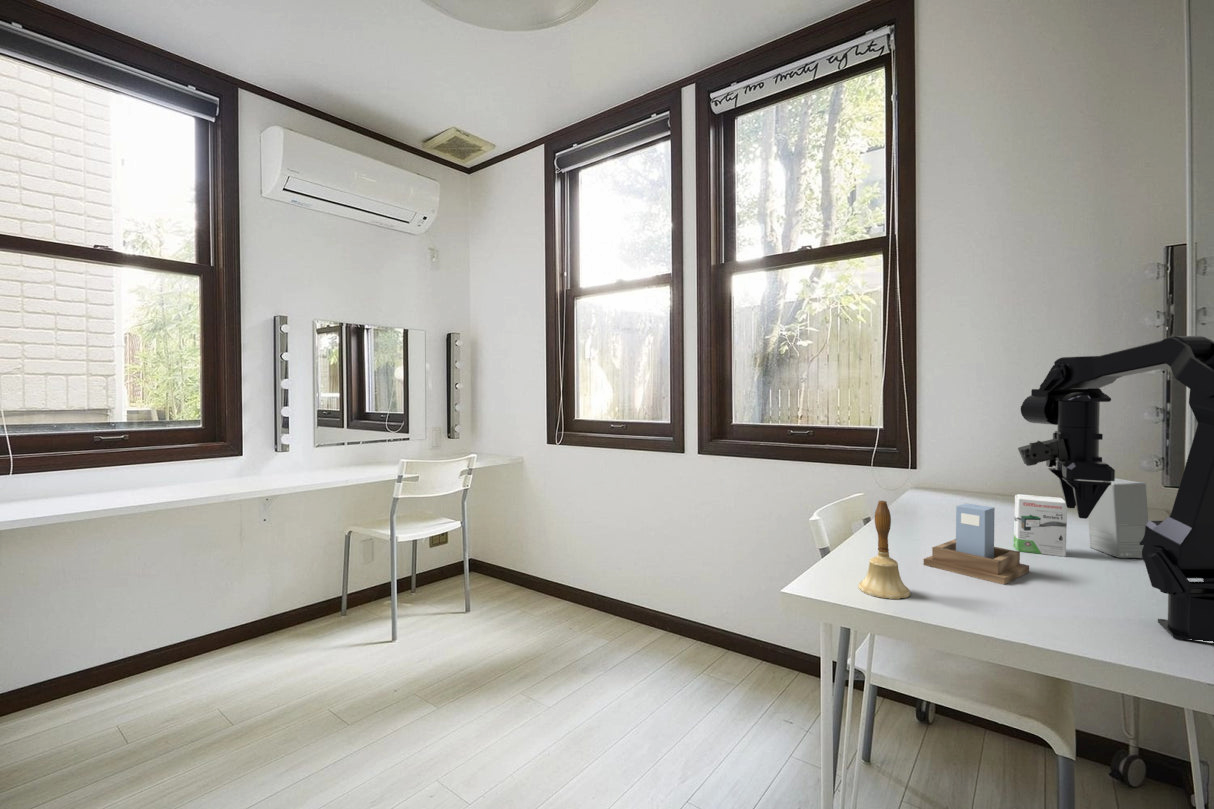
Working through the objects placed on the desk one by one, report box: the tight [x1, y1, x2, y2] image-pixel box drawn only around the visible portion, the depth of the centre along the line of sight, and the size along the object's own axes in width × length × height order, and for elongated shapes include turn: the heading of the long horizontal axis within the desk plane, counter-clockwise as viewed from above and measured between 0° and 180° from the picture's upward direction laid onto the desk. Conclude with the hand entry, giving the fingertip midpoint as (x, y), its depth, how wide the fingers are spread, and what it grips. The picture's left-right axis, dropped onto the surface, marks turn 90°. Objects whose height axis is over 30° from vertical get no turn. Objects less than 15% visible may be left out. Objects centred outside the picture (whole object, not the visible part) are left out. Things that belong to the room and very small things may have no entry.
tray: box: [923, 538, 1030, 585], centre depth 108 cm, size 12×14×4 cm
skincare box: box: [1088, 478, 1149, 559], centre depth 117 cm, size 8×7×16 cm
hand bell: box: [857, 500, 911, 600], centre depth 97 cm, size 8×8×16 cm
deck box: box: [955, 503, 996, 559], centre depth 108 cm, size 5×5×11 cm
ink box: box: [1012, 493, 1068, 558], centre depth 119 cm, size 9×5×12 cm, turn 60°
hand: (1076, 512), depth 99 cm, fingers open, 9 cm apart
